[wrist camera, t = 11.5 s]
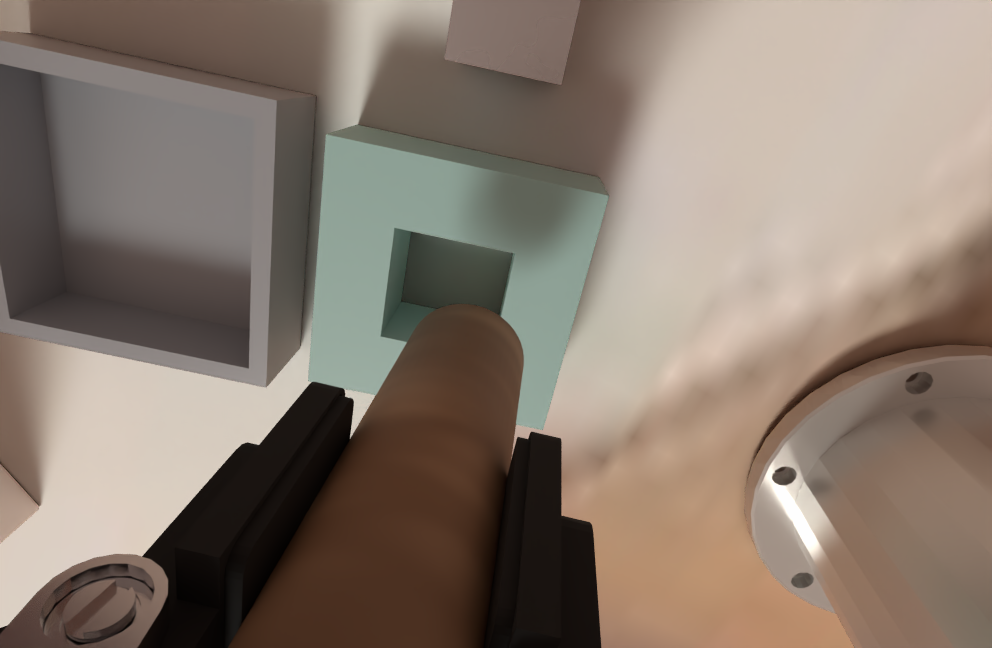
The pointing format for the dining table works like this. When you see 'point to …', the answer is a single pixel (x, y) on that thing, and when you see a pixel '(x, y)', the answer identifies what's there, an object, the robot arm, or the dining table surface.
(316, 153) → the dining table surface
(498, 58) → the grayish brown rectangular block
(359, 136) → the socket block
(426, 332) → the dowel
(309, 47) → the dining table surface
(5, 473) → the milk
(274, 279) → the tray
